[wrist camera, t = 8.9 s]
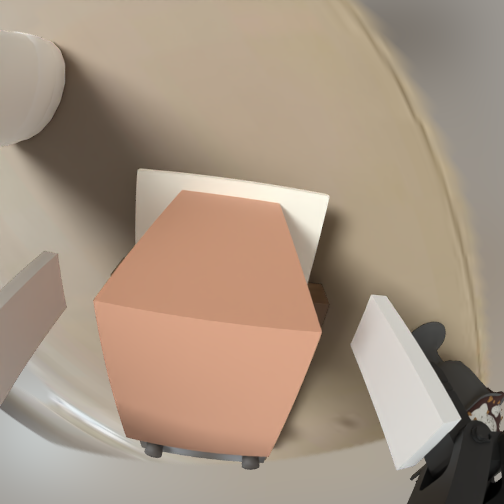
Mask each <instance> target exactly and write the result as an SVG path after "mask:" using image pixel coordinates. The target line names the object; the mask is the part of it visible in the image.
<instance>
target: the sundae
mask: <svg viewBox="0 0 504 504" xmlns="http://www.w3.org/2000/svg"><path fill="white" fill-rule="evenodd" d="M411 334H412V335H413V337H414V339H415V340H416V342H417V343H418V345H419V346H420V348H421V350H422V351H423V353H424V354H425V356H426V358H427V359H428V361H429V362H434V363H435V364H436V365H437V366H438V367H439V368H440V369H441V370H442V371H443V372H444V374H445V376H446V377H447V379H448V383H449V382H450V384H451V386H452V387H453V391H455V392H456V394H457V396H458V398H459V399H460V401H461V403H462V405H463V406H464V408H465V410H466V412H467V414H468V415H469V417H470V419H471V420H478V421H482V422H483V423H485V424H486V425H487V426H488V427H489V428H490V430H491V431H498V432H501V431H500V430H499V427H500V424H501V420H502V418H503V417H502V412H501V411H502V409H501V407H500V405H501V404H502V402H503V401H504V393H503V392H502V391H501V392H493V391H491V390H490V389H489V388H486V386H485V385H484V384H483V383H482V382H481V381H480V380H479V379H478V378H477V376H476V375H475V374H474V373H473V372H472V371H471V370H470V369H469V368H468V367H467V366H465V365H464V364H463V363H462V362H460V361H451V360H449V361H445V362H443V361H442V359H441V358H440V356H439V355H438V353H437V350H438V349H439V347H440V346H441V345H442V343H443V341H444V339H445V334H446V332H445V327H444V326H443V325H442V324H441V323H438V322H430V323H427V324H424V325H422V326H420V327H418V328H417V329H416V330H414V331H413V332H412V333H411Z"/></svg>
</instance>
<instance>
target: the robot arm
mask: <svg viewBox="0 0 504 504" xmlns="http://www.w3.org/2000/svg"><path fill="white" fill-rule="evenodd" d="M66 308H67V306H66V301H65V296H64V291H63V285H62V279H61V273H60V267H59V260H58V253H53V252H47V251H44V252H42V253H41V254H40V255H39V256H38V257H36V258H35V259H34V260H33V261H32V262H31V263H30V264H28V265H27V266H26V267H25V268H24V269H23V270H22V271H20V272H19V273H18V274H17V275H16V276H15V277H14V278H13V279H12V280H11V281H10V282H8V283H7V284H6V285H5V286H4V287H3V288H2V289H1V290H0V407H1V405H2V403H3V401H4V400H5V398H6V396H7V394H8V393H9V391H10V389H11V388H12V386H13V385H14V383H15V381H16V380H17V378H18V377H19V375H20V373H21V372H22V370H23V369H24V367H25V366H26V364H27V363H28V361H29V360H30V358H31V357H32V355H33V354H34V352H35V351H36V349H37V348H38V346H39V345H40V343H41V342H42V340H43V339H44V338H45V336H46V335H47V333H48V332H49V331H50V329H51V328H52V326H53V325H54V324H55V322H56V321H57V320H58V318H59V317H60V316H61V314H62V313H63V312H64V310H65V309H66ZM350 345H351V348H352V350H353V353H354V355H355V358H356V360H357V363H358V365H359V368H360V370H361V373H362V376H363V378H364V381H365V383H366V386H367V389H368V391H369V394H370V397H371V399H372V402H373V405H374V407H375V410H376V413H377V415H378V418H379V421H380V424H381V427H382V429H383V432H384V435H385V438H386V441H387V444H388V447H389V449H390V453H391V456H392V459H393V462H394V465H395V468H396V470H400V469H404V468H408V467H412V466H415V465H416V464H417V463H418V462H419V461H420V460H421V459H423V458H425V461H426V464H425V465H424V466H423V467H422V468H421V469H419V470H418V471H417V472H416V473H415V474H413V475H412V477H411V478H410V480H413V479H414V478H416V477H417V476H418V475H419V474H420V475H419V477H418V480H417V481H416V484H415V487H414V489H413V492H412V494H411V496H410V498H409V501H408V503H407V504H504V431H503V432H498V431H491V430H490V428H489V427H488V426H487V425H486V424H485V423H483V422H482V421H478V420H471V419H470V417H469V415H468V414H467V412H466V410H465V408H464V406H463V405H462V403H461V401H460V399H459V398H458V396H457V394H456V392H455V391H453V387H452V386H451V384H450V382H449V383H448V379H447V377H446V376H445V374H444V372H443V371H442V370H441V369H440V368H439V367H438V366H437V365H436V364H435V363H434V362H429V361H428V359H427V358H426V356H425V354H424V353H423V351H422V350H421V348H420V346H419V345H418V343H417V342H416V340H415V339H414V337H413V335H412V334H411V332H410V331H409V329H408V328H407V326H406V325H405V323H404V322H403V320H402V319H401V317H400V316H399V314H398V313H397V311H396V310H395V308H394V307H393V305H392V304H391V302H390V301H389V299H388V298H387V296H381V295H371V296H370V299H369V301H368V304H367V306H366V309H365V311H364V314H363V316H362V319H361V321H360V323H359V326H358V328H357V331H356V333H355V335H354V338H353V340H352V342H351V344H350ZM499 472H501V473H502V478H501V479H500V480H498V481H497V482H495V481H494V476H496V475H497V474H498V473H499Z"/></svg>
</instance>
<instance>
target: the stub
mask: <svg viewBox="0 0 504 504" xmlns="http://www.w3.org/2000/svg"><path fill="white" fill-rule="evenodd" d="M328 201H329V196H328V194H324V193H318V192H313V191H308V190H302V189H296V188H290V187H284V186H278V185H272V184H266V183H259V182H253V181H246V180H239V179H231V178H224V177H216V176H208V175H200V174H191V173H182V172H173V171H162V170H152V169H139V170H137V186H136V216H135V246H134V247H133V249H132V250H131V251H130V252H129V254H128V255H127V256H126V257H125V259H124V260H123V261H122V263H121V264H120V265H119V266H118V268H117V269H116V270H115V272H114V273H113V274H112V276H111V277H110V278H109V280H108V281H107V282H106V284H105V285H104V286H103V288H102V289H101V290H100V292H99V293H98V295H97V296H96V297H95V299H94V300H93V301H94V308H95V314H96V320H97V325H98V331H99V336H100V341H101V346H102V351H103V355H104V360H105V364H106V368H107V373H108V377H109V381H110V384H111V388H112V392H113V396H114V399H115V403H116V406H117V409H118V413H119V416H120V419H121V422H122V425H123V428H124V431H125V434H126V437H128V438H132V439H136V440H140V441H144V442H149V443H154V444H159V445H164V446H169V447H175V448H181V449H187V450H194V451H201V452H210V453H219V454H229V455H242V456H260V457H269V455H270V453H271V451H272V449H273V447H274V445H275V443H276V441H277V439H278V437H279V435H280V432H281V430H282V428H283V426H284V424H285V422H286V419H287V417H288V415H289V413H290V410H291V408H292V406H293V404H294V401H295V399H296V397H297V394H298V392H299V390H300V387H301V385H302V382H303V380H304V377H305V375H306V373H307V370H308V368H309V365H310V363H311V360H312V357H313V355H314V352H315V350H316V347H317V344H318V342H319V339H320V336H321V334H322V331H321V327H320V324H319V321H318V318H317V314H316V311H315V308H314V305H313V302H312V298H311V295H310V292H309V289H308V286H307V283H308V280H309V276H310V272H311V269H312V265H313V261H314V257H315V254H316V250H317V246H318V242H319V238H320V234H321V230H322V226H323V222H324V218H325V214H326V209H327V205H328Z"/></svg>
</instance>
